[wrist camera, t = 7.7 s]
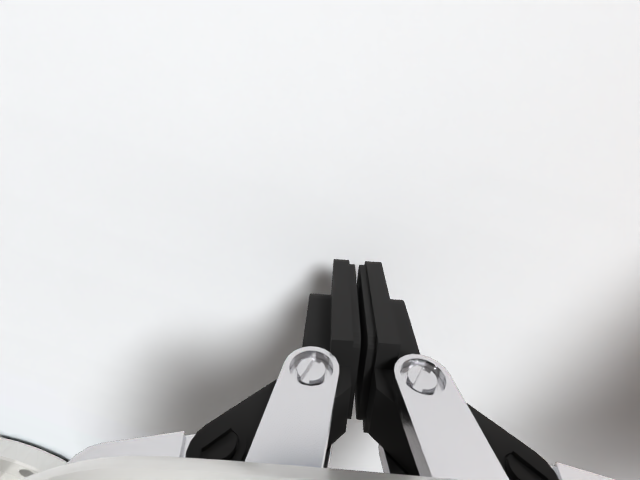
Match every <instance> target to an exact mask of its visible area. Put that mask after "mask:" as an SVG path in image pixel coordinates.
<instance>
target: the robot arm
mask: <svg viewBox="0 0 640 480" xmlns="http://www.w3.org/2000/svg"><path fill="white" fill-rule="evenodd" d="M354 393H355V406H356V419H358V420H363V430H364V432H365V433H369V435H370V436H371V437H372V438H373V439H374V440H376V441H377V442H378V443H379V446H378V448H379V456H380V460H381V464H382V468H383V472H384V473H378V472H366V471H354V470H342V469H331V468H329V462H330V456H331V449H332V444H333V443H334V442H335V441H336V440H337V439H338V438H339V437H340V436H341V435H343V434H344V433H345V432H346V424H347V419H351V416H352V408H353V401H354ZM0 480H615V479H612V478H609V477H605V476H602V475H599V474H595V473H592V472H589V471H585V470H582V469H579V468H575V467H572V466H568V465H565V464H562V463H558V462H556V463H555V464H554V466H551V465H549V464H548V463H547V462H546V461H545V460H544V459H543V458H542V457H541V456H539V455H538V454H537V453H536V452H535V451H533V450H532V449H530V448H529V447H528V446H526V445H525V444H523V443H522V442H521V441H519V440H518V439H516V438H515V437H514V436H512V435H511V434H509V433H508V432H507V431H505V430H504V429H502V428H501V427H500V426H498V425H497V424H495V423H494V422H493V421H491V420H490V419H488V418H487V417H485V416H484V415H483V414H481V413H480V412H478V411H477V410H476V409H474V408H473V407H471V406H470V405H469V404H467V403H466V402H465V400H464V398H463V397H462V395H461V393H460V391H459V389H458V388H457V386H456V384H455V382H454V381H453V379H452V377H451V375H450V374H449V372H448V371H447V370H446V368H445V367H444V366H443V365H441V364H440V363H439V362H438V361H436V360H434V359H432V358H430V357H427V356H424V355H420V353H419V349H418V346H417V343H416V339H415V336H414V333H413V329H412V326H411V323H410V319H409V316H408V313H407V309H406V306H405V303H404V301H403V300H393V299H390V297H389V293H388V288H387V284H386V280H385V276H384V272H383V267H382V263H381V262H369V261H365V265H359V269H358V278H357V284H356V273H355V265H354V264H349V260H338V259H334V263H333V277H332V290H331V295H321V294H310V296H309V303H308V310H307V317H306V324H305V331H304V339H303V346H302V348H299V349H297V350H295V351H293V352H292V353H291V354H289V355H288V357H287V358H286V360H285V361H284V364H283V366H282V369H281V371H280V374H279V376H278V379H276V380H275V381H273V382H272V383H270V384H269V385H267V386H266V387H264V388H262V389H261V390H259V391H258V392H256V393H255V394H253V395H252V396H250V397H248V398H247V399H245V400H244V401H242V402H241V403H239V404H238V405H236V406H234V407H233V408H231V409H230V410H228V411H227V412H225V413H224V414H222V415H221V416H219V417H217V418H216V419H214V420H213V421H211V422H210V423H208V424H207V425H205V426H204V427H203V428H202V429H200V430H199V431H198V432H197V433H196V434H191V435H185V432H184V431H180V432H173V433H166V434H159V435H153V436H146V437H139V438H132V439H125V440H119V441H112V442H105V443H100V444H97V445H93V446H90V447H88V448H86V449H84V450H83V451H81V452H79V453H78V454H76V455H75V456H74V457H73V458H72V459H71V460H70V461H69V462H66V461H64V460H63V459H61V458H59V457H57V456H55V455H53V454H50V453H48V452H46V451H44V450H42V449H39V448H36V447H33V446H30V445H28V444H25V443H22V442H18V441H14V440H10V439H6V438H2V437H0Z"/></svg>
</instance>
